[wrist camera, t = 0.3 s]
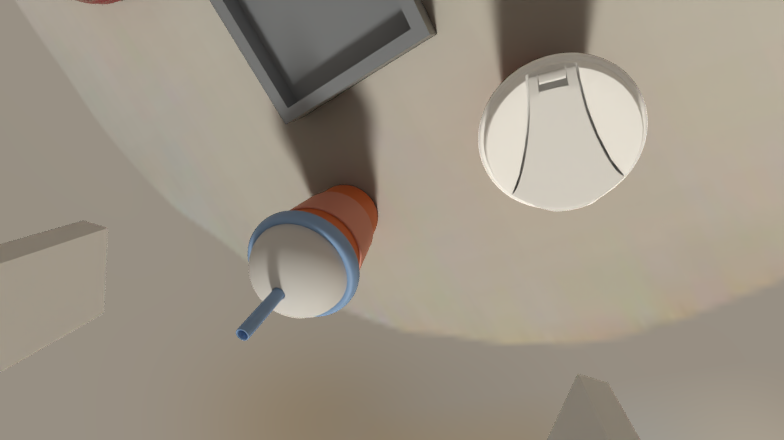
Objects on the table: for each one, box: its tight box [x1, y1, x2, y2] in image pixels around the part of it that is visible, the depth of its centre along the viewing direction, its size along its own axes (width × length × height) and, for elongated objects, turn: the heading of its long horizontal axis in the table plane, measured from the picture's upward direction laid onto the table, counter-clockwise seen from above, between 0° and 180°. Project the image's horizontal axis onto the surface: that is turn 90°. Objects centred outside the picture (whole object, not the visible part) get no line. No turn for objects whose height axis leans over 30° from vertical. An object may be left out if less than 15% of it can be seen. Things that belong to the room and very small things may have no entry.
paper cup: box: [478, 53, 648, 211], centre depth 25 cm, size 8×8×14 cm
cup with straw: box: [236, 185, 378, 341], centre depth 32 cm, size 9×9×18 cm
